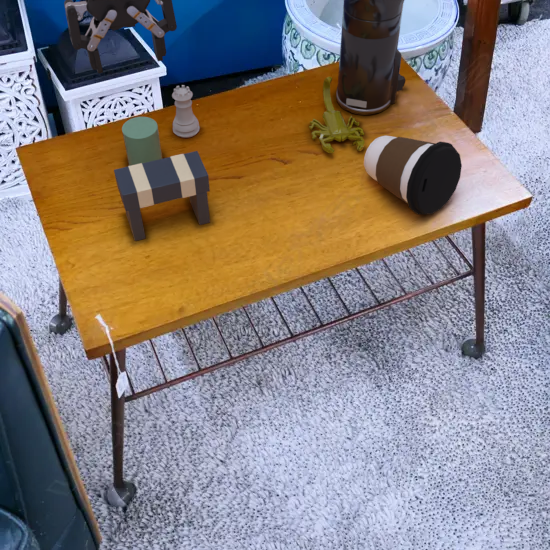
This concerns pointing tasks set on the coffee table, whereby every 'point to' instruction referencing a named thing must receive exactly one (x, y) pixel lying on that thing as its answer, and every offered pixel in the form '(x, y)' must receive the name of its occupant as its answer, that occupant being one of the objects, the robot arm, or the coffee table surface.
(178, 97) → the rook chess piece
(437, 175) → the coffee cup
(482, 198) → the coffee table surface
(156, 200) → the barricade
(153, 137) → the mint green cylinder
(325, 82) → the scorpion
